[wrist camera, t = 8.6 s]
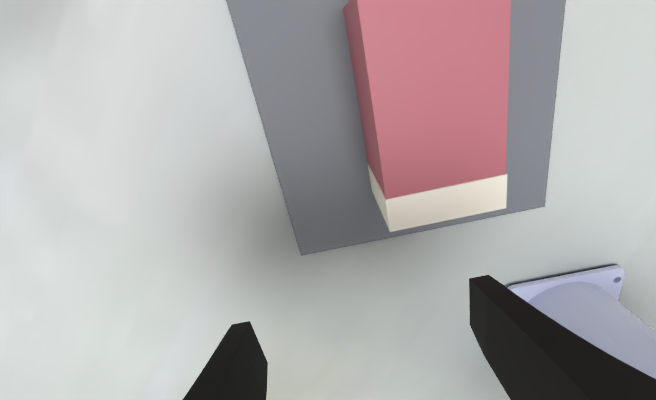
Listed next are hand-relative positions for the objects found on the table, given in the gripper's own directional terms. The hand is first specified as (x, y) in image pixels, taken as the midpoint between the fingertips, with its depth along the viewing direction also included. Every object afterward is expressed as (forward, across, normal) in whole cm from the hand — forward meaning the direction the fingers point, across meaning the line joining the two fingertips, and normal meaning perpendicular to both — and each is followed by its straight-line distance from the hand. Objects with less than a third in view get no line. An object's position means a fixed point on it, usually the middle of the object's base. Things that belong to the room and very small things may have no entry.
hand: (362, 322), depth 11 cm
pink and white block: (+9, -4, -5) cm, 11 cm away
